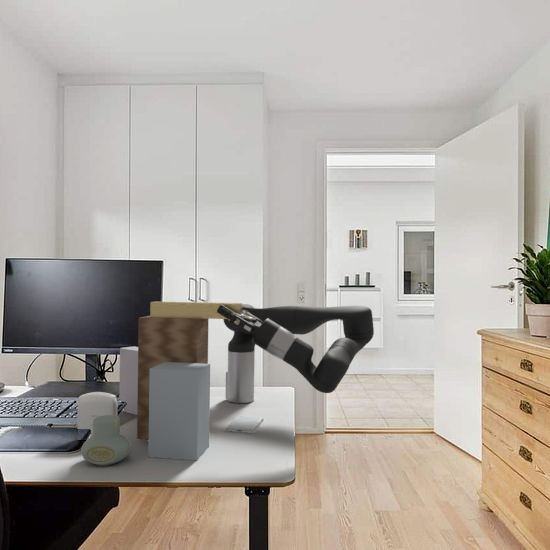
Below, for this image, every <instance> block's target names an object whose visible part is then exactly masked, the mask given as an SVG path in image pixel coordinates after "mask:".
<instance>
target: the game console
mask: <svg viewBox="0 0 550 550" xmlns="http://www.w3.org/2000/svg"><path fill="white" fill-rule="evenodd" d="M118 395H119V396H118V398H119V399H122V400H124V401H125V402H126V403H127V405H126V407H125V408H124V410H122V412H124V413H128V414H132V415H135V416H137V400H138V346H127V347H120V348H119V393H118ZM119 399H118V400H119Z"/></svg>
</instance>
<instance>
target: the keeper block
mask: <svg viewBox="0 0 550 550" xmlns="http://www.w3.org/2000/svg"><path fill="white" fill-rule="evenodd" d="M210 398H211V363H208V364H203V363H179V362H164V363H161V364H159V365H157V366H155V367H153V368H150V381H149V441H148V458H154V457H156V458H157V457H159V458H157V459H168V458H172V459H171V460H182V459H184V460H183V461H185V460H186V461H196V460H197V461H198V460H199V459H200V458H201V457H202V456H203V454H204V453H205V452H206V451H207V450H208V449H209V448H210V419H211V418H210V411H211V410H210V409H211V407H210V405H211V403H210V402H211V399H210ZM207 448H208V449H207ZM206 449H207V450H206ZM205 450H206V451H205ZM201 455H202V456H201ZM200 456H201V457H200ZM199 457H200V458H199Z"/></svg>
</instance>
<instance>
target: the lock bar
mask: <svg viewBox="0 0 550 550" xmlns="http://www.w3.org/2000/svg"><path fill="white" fill-rule="evenodd" d="M149 304H150V305H149V306H150V307H149V308H150V315H149V316H150V317H158V318H204V319H208V320H209V319H210V320H211V319H213V320H215V319H216V320H223V319H227V318H225V317H224V316H222V315H221V314H219V313H218V312H217V310H218V308H219V306H220V305H223V306H225V307H226V308H228V309H230V310H231V311H233V312H236V313H237V314H242V304H243V302H205V301H203V302H201V301H199V302H197V301H189V302H188V301H151V302H150V303H149ZM236 319H237V318H236Z"/></svg>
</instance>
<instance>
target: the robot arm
mask: <svg viewBox="0 0 550 550" xmlns="http://www.w3.org/2000/svg"><path fill="white" fill-rule="evenodd" d="M217 312H218V313H219V314H221V315H222V316H224V317H225V318H227V319H222V320H223V323H224V325H225V326H226V328H228V329H229V330H230V331H232V332H233V336H232V337H231V339H230V341H229V342H228V343H227V344H228V345H227V371H226V372H225V400H226V401H228V402H229V403H233V404H246V403H252V402H254V400H255V350H256V348H255V347H256V346H257V347H259V348H260V349H262V350H263V351H265V352H267V353H269V354H270V355H271V356H274V357H275V358H277V359H280V360H282V361H283V362H285V363H286V364H288V365H290V366H291V367H293V368H294V369H295V370H297V372H299V373H300V375H301V376H302V377H303V378H304V379H305V380H306V381H307V382H308V383H309V384H310V385H311V386H312V387H313V388H314V389H315V390H316V391H318V392H320V393H323V394H331V393H332V392H334V391H335V390H336V389H337V387H338V386H339V384H340V383H341V381H343V378H344V377H345V375H346V373H347V372H348V370H349V368H350V365H351V363H352V361H353V360H354V359H355V356H356V355H357V354H358V353H359V352H360V351H361V350H362V349H363V348H364V347H365V346H367V344H369V343H370V342H371V340H372V339H373V337H374V335H375V334H374V333H375V332H374V331H375V330H374V321H373V310H372V309H371V308H370V307H367V306H364V305H343V306H342V305H340V306H306V305H305V306H304V305H283V306H282V305H281V306H273V307H265V308H259V307H258V308H257V307H254V305H250V304H248V303H245V304H244V303H242V314H237V313H236V312H233V311H231V310H230V309H228V308H226V307H225V306H223V305H220V306H219V308H218V310H217ZM236 318H237V319H236ZM336 320H341V321H342V326H343V334H344V337H341V338H340V337H339V338H337V339H336V340H335V341H333V343H332V344H331V345H330V346H329V348H328V349H327V351H326V352H325V354H324V355H323V356H322V357H321V360H320V361H319V362H318V364H317V366H316V365H315V364H314V362H313V361H312V358H313V355H314V348H313V346H312V345H310V344H309V343H307V342H305V341H304V340H302V339H300V338H299V337H298V336H296V335H307V334H309V333H311V332H314V330H316V329H318V328H319V327H321V326H322V325H324V324H326V323H328V322H331V321H336Z"/></svg>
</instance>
